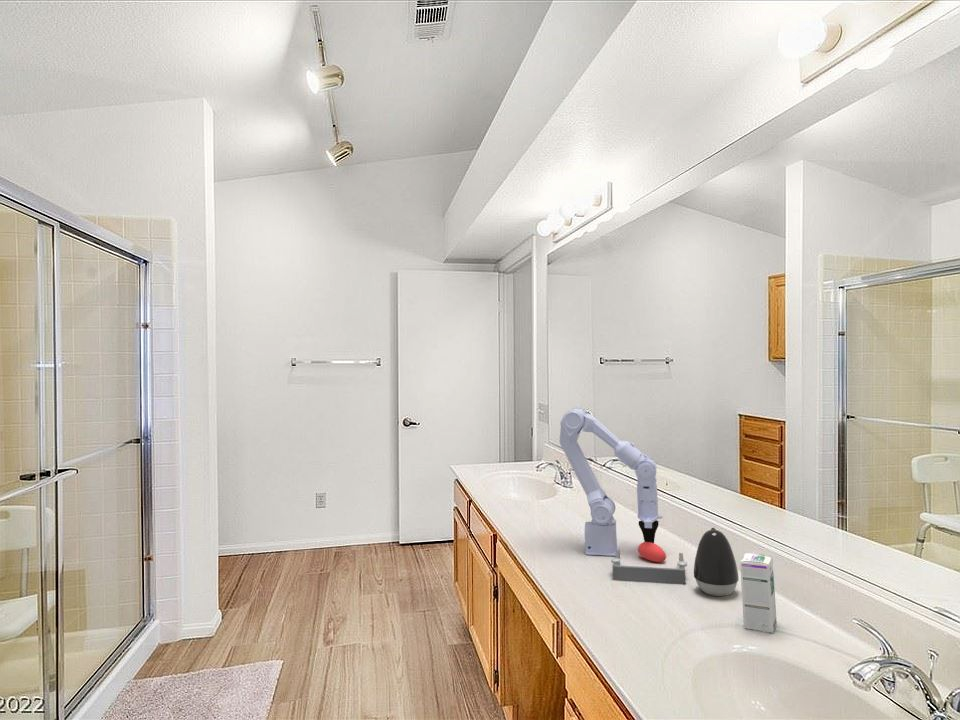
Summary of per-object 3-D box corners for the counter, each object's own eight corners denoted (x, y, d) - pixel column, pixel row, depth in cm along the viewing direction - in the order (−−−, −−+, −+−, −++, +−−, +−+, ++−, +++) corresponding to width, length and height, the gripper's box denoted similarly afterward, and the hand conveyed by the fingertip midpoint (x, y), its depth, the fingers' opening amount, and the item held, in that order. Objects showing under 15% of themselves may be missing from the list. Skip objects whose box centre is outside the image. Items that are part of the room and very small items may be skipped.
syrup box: (773, 634, 124) (770, 563, 124) (742, 628, 127) (739, 559, 127) (776, 623, 129) (773, 555, 129) (746, 618, 132) (744, 551, 132)
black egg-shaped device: (737, 586, 150) (734, 525, 150) (741, 602, 140) (738, 537, 140) (694, 582, 154) (691, 523, 154) (694, 598, 144) (691, 534, 144)
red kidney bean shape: (646, 570, 168) (657, 551, 167) (630, 549, 176) (640, 532, 175) (660, 573, 170) (671, 555, 169) (643, 552, 178) (653, 535, 177)
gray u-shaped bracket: (610, 579, 158) (609, 564, 158) (614, 562, 171) (613, 547, 172) (688, 584, 153) (687, 568, 153) (685, 566, 166) (685, 551, 166)
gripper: (662, 506, 169) (664, 554, 169) (661, 494, 183) (663, 539, 183) (636, 505, 171) (638, 553, 171) (637, 494, 185) (639, 538, 185)
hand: (649, 546), depth 177 cm, fingers closed
